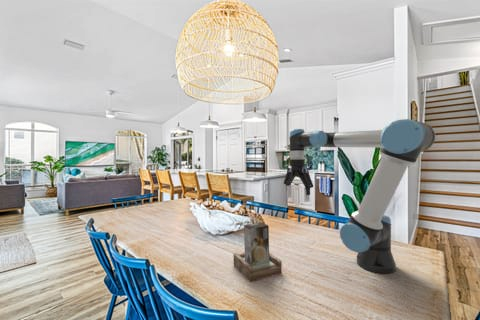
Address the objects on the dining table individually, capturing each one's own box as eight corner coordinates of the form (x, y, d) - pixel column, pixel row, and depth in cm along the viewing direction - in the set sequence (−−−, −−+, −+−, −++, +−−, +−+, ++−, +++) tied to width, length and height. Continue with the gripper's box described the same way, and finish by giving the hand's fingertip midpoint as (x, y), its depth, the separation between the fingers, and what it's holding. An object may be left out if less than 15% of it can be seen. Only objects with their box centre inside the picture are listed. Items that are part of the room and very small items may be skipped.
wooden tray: (281, 273, 98) (281, 261, 98) (250, 281, 91) (250, 268, 91) (262, 258, 112) (261, 247, 112) (233, 265, 106) (233, 253, 106)
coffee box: (261, 256, 107) (261, 221, 106) (269, 262, 101) (269, 225, 101) (244, 260, 102) (243, 224, 102) (251, 266, 97) (250, 228, 96)
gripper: (320, 158, 112) (321, 202, 112) (287, 158, 135) (288, 195, 135) (308, 159, 109) (309, 204, 109) (277, 159, 131) (277, 196, 131)
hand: (297, 199), depth 122 cm, fingers open, 13 cm apart
